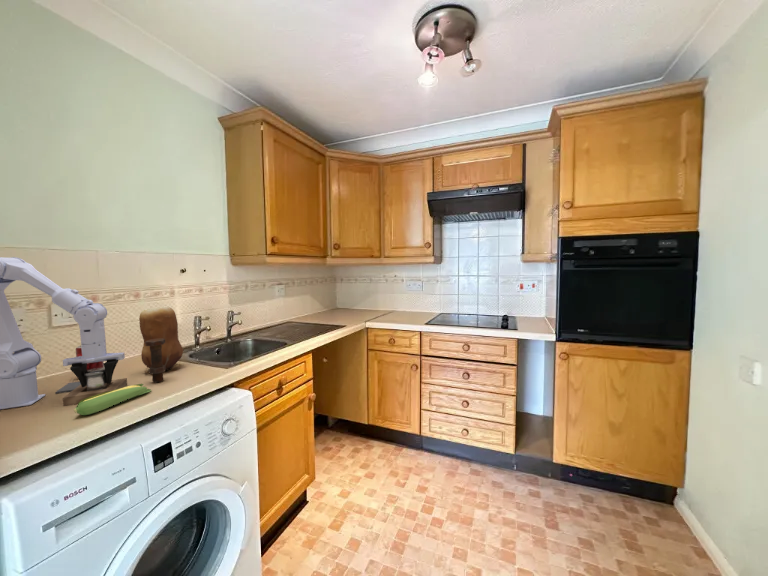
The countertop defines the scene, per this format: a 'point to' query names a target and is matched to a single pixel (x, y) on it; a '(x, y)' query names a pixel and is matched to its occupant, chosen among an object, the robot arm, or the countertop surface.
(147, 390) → the edible corn
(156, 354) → the bolt
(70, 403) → the wooden square frame
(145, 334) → the butternut squash
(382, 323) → the countertop surface
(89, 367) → the soda can
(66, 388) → the rest mat
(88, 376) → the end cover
